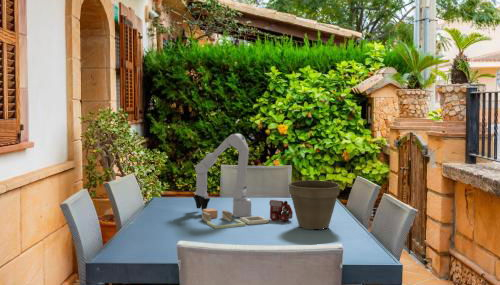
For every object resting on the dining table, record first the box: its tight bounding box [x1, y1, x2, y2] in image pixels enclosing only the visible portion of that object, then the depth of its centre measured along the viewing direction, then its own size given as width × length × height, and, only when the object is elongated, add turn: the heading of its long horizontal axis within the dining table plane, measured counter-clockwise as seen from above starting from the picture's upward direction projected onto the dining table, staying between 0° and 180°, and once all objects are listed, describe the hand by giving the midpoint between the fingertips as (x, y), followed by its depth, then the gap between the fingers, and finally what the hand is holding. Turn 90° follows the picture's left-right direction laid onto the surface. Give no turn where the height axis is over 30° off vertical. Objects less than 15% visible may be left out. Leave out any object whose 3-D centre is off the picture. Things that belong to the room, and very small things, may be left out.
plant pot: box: [288, 179, 341, 230], centre depth 274 cm, size 25×25×22 cm
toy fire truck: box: [269, 199, 294, 223], centre depth 289 cm, size 7×12×10 cm, turn 68°
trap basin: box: [239, 215, 269, 226], centre depth 284 cm, size 11×10×2 cm
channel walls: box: [201, 209, 233, 223], centre depth 286 cm, size 13×8×4 cm, turn 117°
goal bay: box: [206, 218, 247, 230], centre depth 276 cm, size 16×11×1 cm
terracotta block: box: [202, 208, 218, 219], centre depth 294 cm, size 6×6×4 cm
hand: (201, 209), depth 304 cm, fingers open, 7 cm apart
